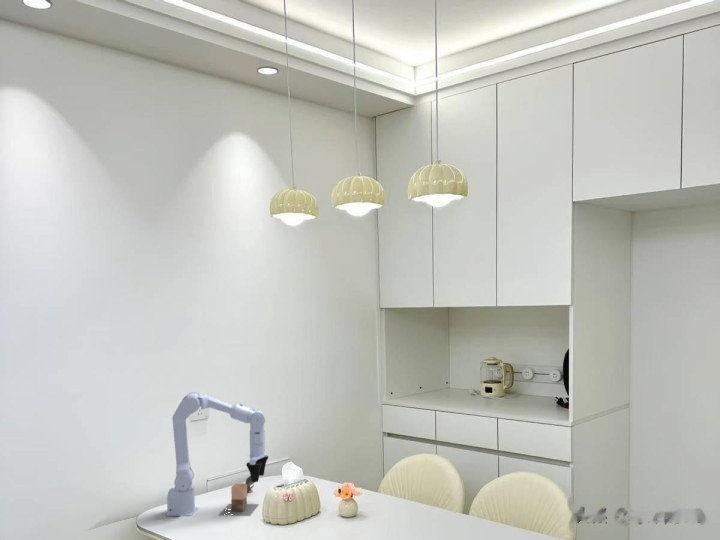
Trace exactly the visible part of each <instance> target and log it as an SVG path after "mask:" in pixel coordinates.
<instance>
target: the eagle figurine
mask: <svg viewBox="0 0 720 540" xmlns="http://www.w3.org/2000/svg"><path fill="white" fill-rule="evenodd" d="M255 483H256V482H252V479H251V475H250V476H248V477H247V478H246V479H245V483H242V484H247V494H249V492H250V493H254V491H253V488H254V486H255ZM251 485H252V486H251Z"/></svg>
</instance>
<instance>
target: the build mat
mask: <svg viewBox="0 0 720 540" xmlns="http://www.w3.org/2000/svg"><path fill="white" fill-rule="evenodd" d="M259 505H260V504H258V503H257V504H255V503H247V508H246V509H245V510H244V512H231V510H228V509H231V503H228V504H227V505H226V506H225V508H227V509H225V508H224V509H223V510H222V511H220V513H219V514H218V516H221V515H222V516H223V515H224V514H225V515H227V517H228V515H231V514H233V515H234V517H235V516H236V517H238V516H239V517H251V515H252V514H253V513H254V512H255V511H256V510H257V508H258V507H259ZM225 510H226V511H225ZM228 512H230V513H228ZM226 513H227V514H226ZM233 515H231V516H233ZM231 516H230V517H231Z"/></svg>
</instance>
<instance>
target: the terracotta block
mask: <svg viewBox="0 0 720 540" xmlns="http://www.w3.org/2000/svg"><path fill="white" fill-rule="evenodd" d="M230 489H231V499H235V500H243V499H244V498H245V497H246V496H247V497H248V493H247V484H245V483H243V484H242V483H241V482H240V483H234V484H233V485H232V486H231V487H230Z"/></svg>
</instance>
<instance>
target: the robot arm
mask: <svg viewBox="0 0 720 540" xmlns="http://www.w3.org/2000/svg"><path fill="white" fill-rule="evenodd" d="M209 408H210V409H213V410H216V411H220V412H223V413H226V414H229V416H230V418H231V419H234V420H235V421H238V422H242V423H244V424H249V427H250V429H249V462H247V463H246V465H245V466H246V467H247V469H248V471H249V474H250V476H251V479H252V482H255V483H258V482H259V480H260V479H259V478H260V476H262V477H263V476H264V475H265V469H266V464H267V461H268V459H269V453H266V436H265V435H266V433H265V432H266V431H265V423H266V418H265V414H264V413H263V412H262V411H261V410H260V409H258V408H257V409H256V408H255V407H251V408H250V407H248V406H246V405H244V403H241V402H239V403H235V404H231V403H227V402H224V401H223V400H219V399H217V398H215V397H213V396H209V395H206V394H204V393H199V392H196V391H191V392H189V393H187V394H186V395H185V396H184V397H183V398H182V399H181V401H180V403H179V404H178V406H177V408H176V410H175V411H174V413H173V415H172V418H171V420H172V428H173V429H172V430H173V437H174V452H175V462H176V465H175V467H176V468H175V473H176V474H175V479H174V482H173V483H174V487H172V488H169V490H168V491H167V496H166V500H167V501H166V504H167V505H166V507H167V509H166V510H167V512H166V513H167V514H166V517H167V516H169V517H192V516H193V515H194V514H195V513H196V512H197V511H198V510H199V509H200V508H199V507H198V506H197V507H196V506H195V503H196V502H195V500H196V499H195V497H196V496H195V493H196V492H195V485H194V483H193V480H194V477H195V473H194V469H192V466H191V461H190V454H189V453H190V452H189V443H188V441H189V440H188V427H187V419H188V418H189V417H190V415H192V414H194V413H196V412H197V411H198V410H199V409H200V410H205V409H209Z"/></svg>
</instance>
